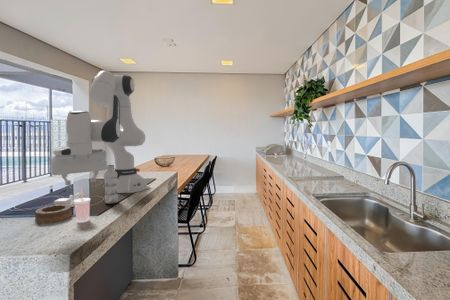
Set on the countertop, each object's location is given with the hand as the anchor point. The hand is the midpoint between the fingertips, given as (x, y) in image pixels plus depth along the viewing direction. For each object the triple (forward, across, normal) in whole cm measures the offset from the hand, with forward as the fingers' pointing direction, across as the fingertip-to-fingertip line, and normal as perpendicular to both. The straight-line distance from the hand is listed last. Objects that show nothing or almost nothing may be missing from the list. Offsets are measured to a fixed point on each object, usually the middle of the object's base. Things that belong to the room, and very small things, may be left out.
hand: (81, 183), depth 101 cm
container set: (+16, -4, -27) cm, 32 cm away
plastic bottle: (+16, -19, -16) cm, 30 cm away
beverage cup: (+16, 0, 0) cm, 16 cm away
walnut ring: (+16, +7, -13) cm, 22 cm away
